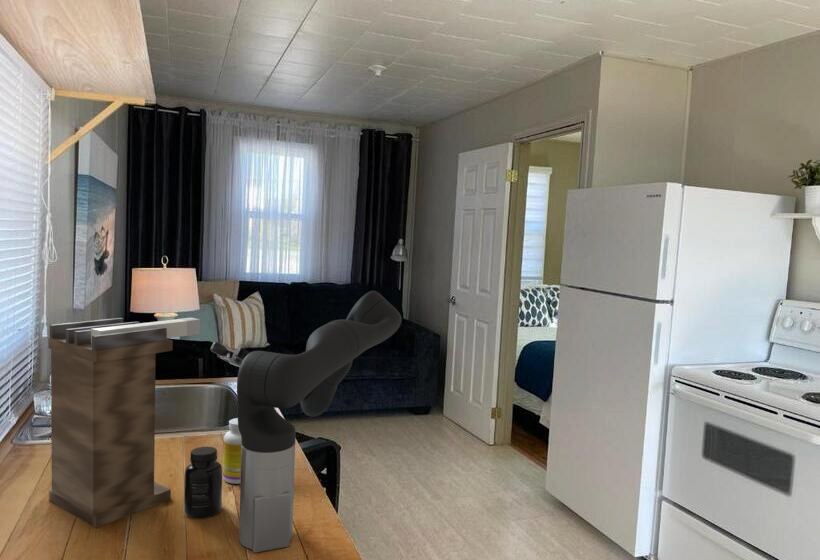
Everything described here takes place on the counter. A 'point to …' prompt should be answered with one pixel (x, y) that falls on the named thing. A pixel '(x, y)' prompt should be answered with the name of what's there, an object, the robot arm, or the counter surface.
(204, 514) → the supplement bottle
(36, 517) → the counter surface
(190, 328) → the bar
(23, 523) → the counter surface
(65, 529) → the counter surface
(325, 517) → the counter surface
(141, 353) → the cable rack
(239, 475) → the supplement bottle
